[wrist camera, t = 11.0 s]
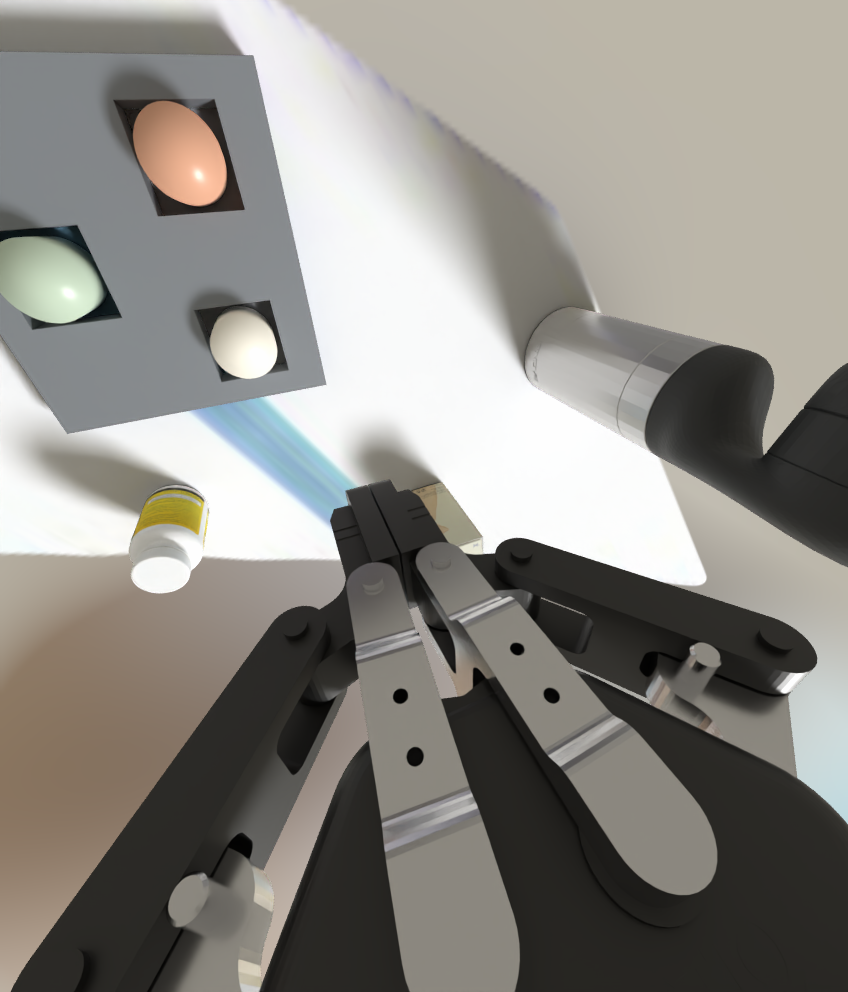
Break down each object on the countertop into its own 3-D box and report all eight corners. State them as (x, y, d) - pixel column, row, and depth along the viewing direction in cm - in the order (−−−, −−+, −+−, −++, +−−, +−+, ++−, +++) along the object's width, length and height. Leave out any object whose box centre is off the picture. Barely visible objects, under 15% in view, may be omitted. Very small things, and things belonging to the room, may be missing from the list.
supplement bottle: (134, 490, 36) (104, 560, 29) (197, 477, 38) (185, 540, 30) (159, 534, 39) (138, 607, 32) (217, 521, 41) (210, 588, 33)
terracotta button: (212, 115, 25) (207, 100, 22) (237, 204, 28) (236, 201, 25) (133, 117, 24) (115, 101, 21) (166, 209, 27) (156, 207, 24)
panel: (252, 67, 25) (253, 55, 23) (322, 376, 37) (326, 384, 35) (-153, 64, 20) (-194, 48, 18) (77, 421, 32) (67, 433, 30)
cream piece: (265, 302, 32) (266, 310, 29) (281, 359, 34) (284, 372, 31) (204, 310, 31) (199, 320, 28) (225, 369, 33) (223, 383, 30)
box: (410, 489, 48) (446, 547, 39) (443, 480, 49) (484, 535, 40) (414, 522, 51) (448, 583, 42) (444, 513, 52) (484, 570, 43)
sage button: (84, 232, 26) (62, 233, 23) (120, 307, 29) (105, 317, 26) (1, 239, 25) (-33, 241, 22) (47, 316, 28) (22, 328, 25)
